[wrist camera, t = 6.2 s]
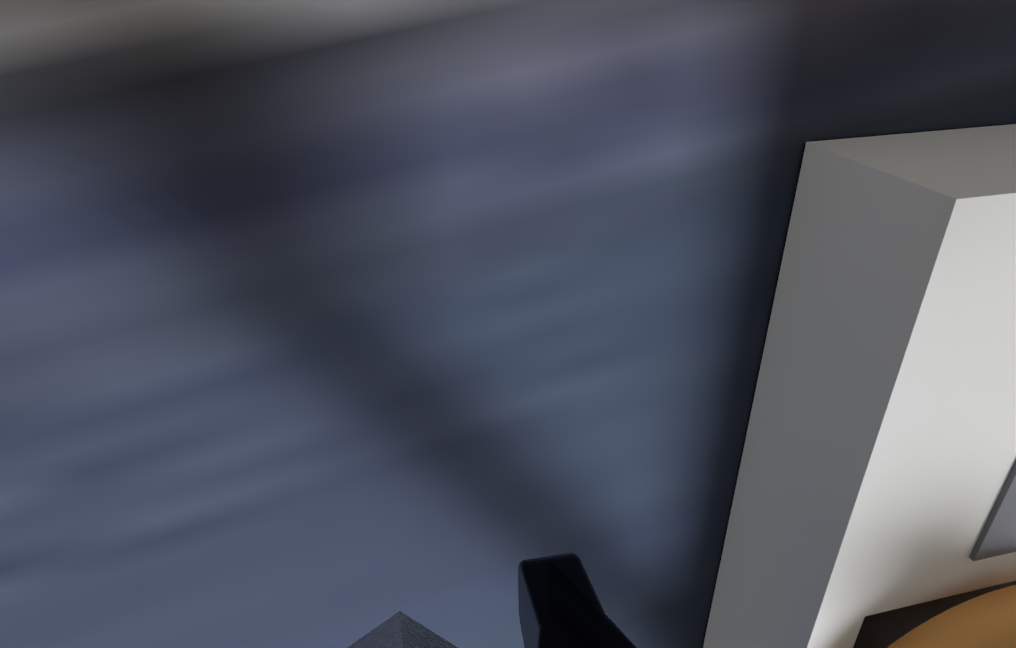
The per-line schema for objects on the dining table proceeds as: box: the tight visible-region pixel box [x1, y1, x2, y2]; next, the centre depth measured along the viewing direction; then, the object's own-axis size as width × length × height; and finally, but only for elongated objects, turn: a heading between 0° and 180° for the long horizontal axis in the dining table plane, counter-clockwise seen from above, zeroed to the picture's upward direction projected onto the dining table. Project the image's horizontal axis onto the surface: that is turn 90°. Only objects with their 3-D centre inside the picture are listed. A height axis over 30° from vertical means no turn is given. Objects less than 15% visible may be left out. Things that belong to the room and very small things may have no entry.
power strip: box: [703, 124, 1016, 648], centre depth 14 cm, size 20×8×4 cm, turn 1°
